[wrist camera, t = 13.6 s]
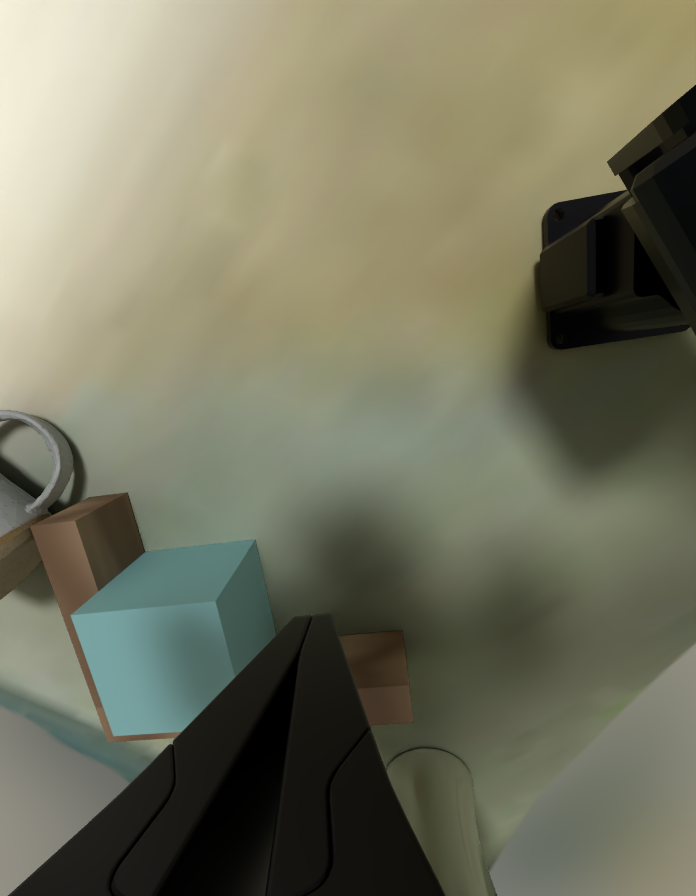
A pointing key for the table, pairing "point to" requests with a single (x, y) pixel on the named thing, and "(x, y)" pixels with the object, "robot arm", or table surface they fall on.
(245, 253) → the table surface
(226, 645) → the teal block
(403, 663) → the corner board
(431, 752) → the beer glass
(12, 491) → the ceramic mug
